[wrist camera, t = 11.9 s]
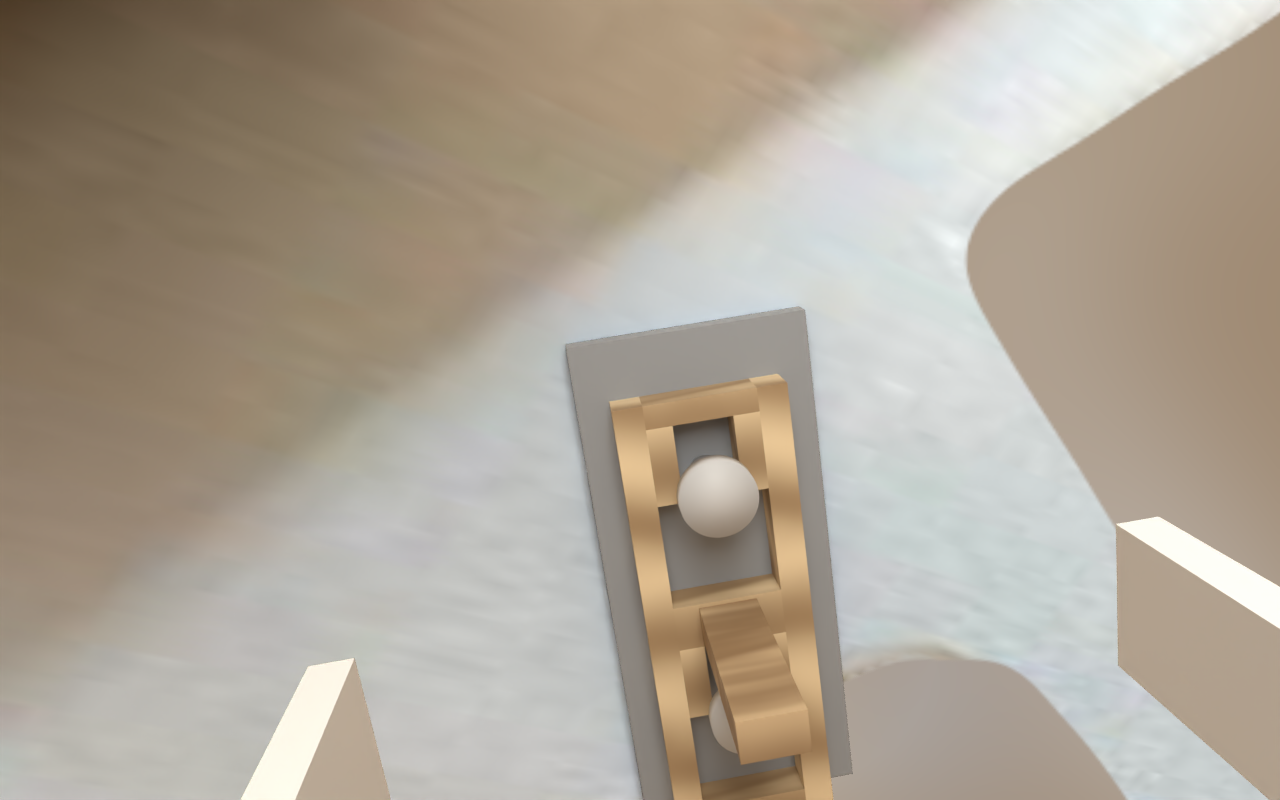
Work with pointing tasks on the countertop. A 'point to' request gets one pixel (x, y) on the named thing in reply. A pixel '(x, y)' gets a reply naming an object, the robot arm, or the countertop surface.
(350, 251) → the countertop surface
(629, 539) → the board
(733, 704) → the ball track frame
